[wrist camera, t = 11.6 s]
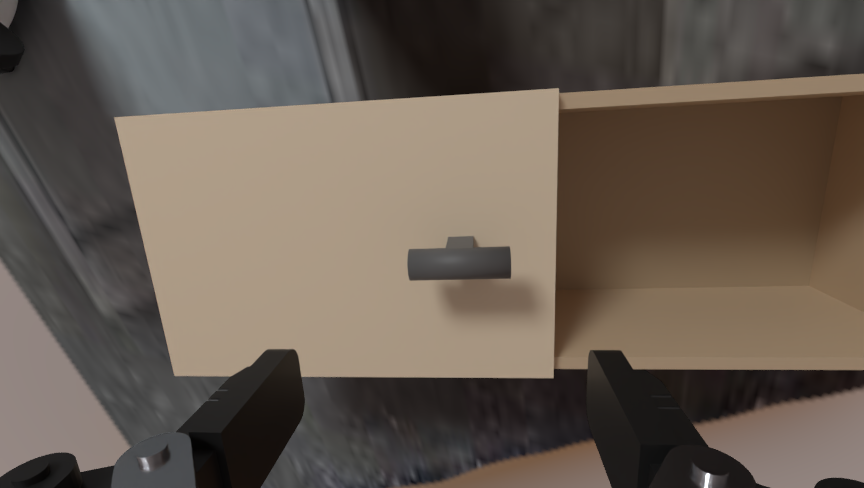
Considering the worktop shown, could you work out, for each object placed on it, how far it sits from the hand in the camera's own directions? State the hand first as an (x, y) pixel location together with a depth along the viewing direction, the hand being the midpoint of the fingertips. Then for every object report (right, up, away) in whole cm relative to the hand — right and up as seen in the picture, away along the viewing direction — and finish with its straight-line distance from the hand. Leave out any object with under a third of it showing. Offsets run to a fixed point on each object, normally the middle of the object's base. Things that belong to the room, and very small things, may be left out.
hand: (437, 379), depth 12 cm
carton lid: (-5, +3, +14) cm, 15 cm away
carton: (+19, +7, +23) cm, 30 cm away
